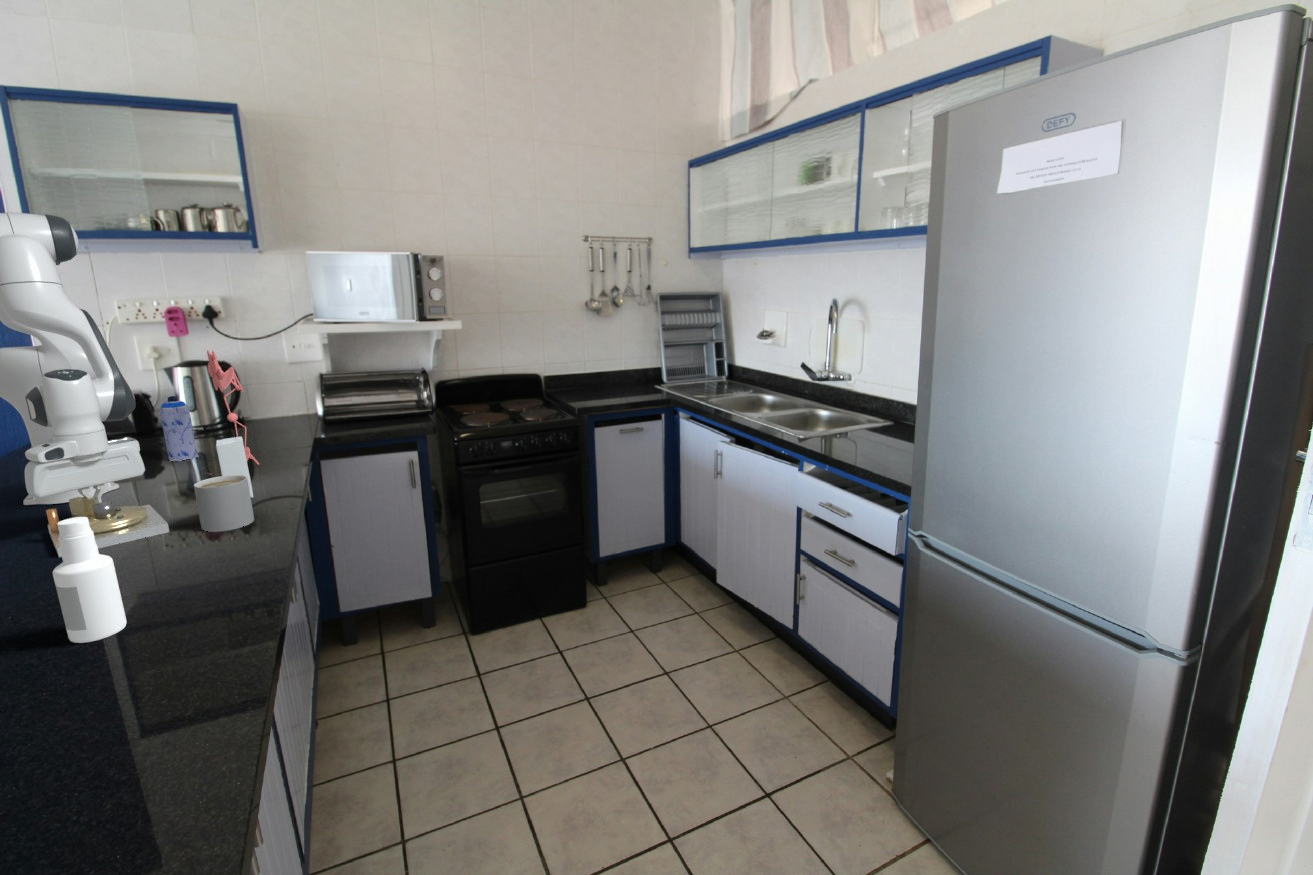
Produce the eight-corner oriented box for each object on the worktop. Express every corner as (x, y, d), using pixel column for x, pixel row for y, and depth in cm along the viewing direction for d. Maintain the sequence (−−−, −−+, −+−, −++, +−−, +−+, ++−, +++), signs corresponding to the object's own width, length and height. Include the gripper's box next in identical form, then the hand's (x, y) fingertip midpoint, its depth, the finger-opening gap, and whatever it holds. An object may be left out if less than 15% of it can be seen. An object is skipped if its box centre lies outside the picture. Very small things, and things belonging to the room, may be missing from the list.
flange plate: (162, 514, 146) (158, 493, 145) (94, 537, 133) (88, 514, 132) (112, 509, 151) (108, 488, 149) (41, 530, 137) (36, 508, 136)
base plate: (49, 533, 142) (42, 503, 141) (151, 512, 155) (145, 484, 153) (59, 557, 129) (51, 523, 127) (169, 532, 142) (163, 501, 140)
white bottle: (92, 622, 102) (66, 513, 98) (137, 619, 103) (114, 511, 99) (56, 645, 96) (27, 530, 92) (106, 642, 96) (79, 527, 92)
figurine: (249, 454, 211) (228, 345, 202) (269, 469, 192) (246, 350, 184) (193, 464, 201) (168, 350, 192) (207, 481, 182) (180, 356, 174)
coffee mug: (255, 525, 145) (248, 482, 142) (202, 535, 139) (193, 490, 137) (251, 509, 155) (244, 469, 153) (201, 518, 150) (193, 476, 148)
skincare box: (253, 497, 165) (244, 440, 161) (225, 502, 161) (215, 444, 158) (252, 490, 171) (243, 435, 168) (225, 494, 168) (215, 438, 165)
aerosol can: (203, 457, 209) (191, 395, 204) (175, 462, 202) (162, 399, 198) (191, 454, 213) (180, 394, 208) (164, 459, 206) (151, 397, 202)
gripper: (130, 433, 152) (141, 490, 155) (14, 453, 134) (30, 517, 138) (144, 436, 149) (155, 494, 152) (27, 456, 131) (43, 521, 135)
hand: (95, 505), depth 145 cm, fingers closed
